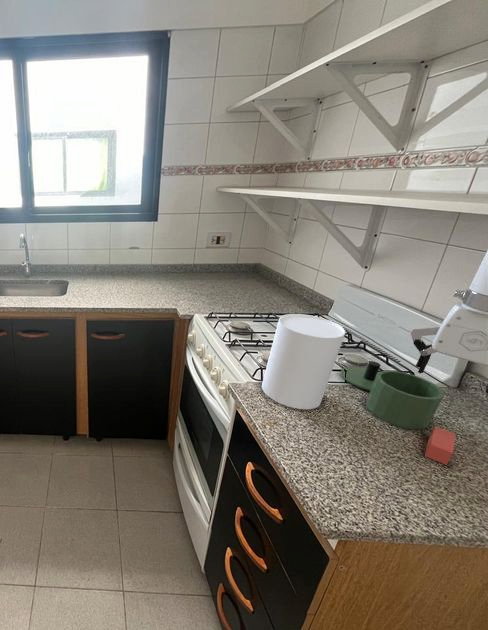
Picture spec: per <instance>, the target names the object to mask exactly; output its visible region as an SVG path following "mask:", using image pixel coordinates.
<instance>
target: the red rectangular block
mask: <svg viewBox="0 0 488 630" xmlns="http://www.w3.org/2000/svg"><path fill="white" fill-rule="evenodd" d="M456 435H457V434H456V433H455V432H453V431H449V430H447V429H444V428H441V427H439V426H436V425H434V427H433V429H432V430H431V433H430V434H429V436H428V440H427V443H426V447H425V448H426V449H425V453H424V457H427V458H428V459H432V460H433V461H435V462H439V463H440V464H443V465H446V466H447V465H448V463H449V461H450V459H451V458H452V456H453V454H454V450H455V443H456Z"/></svg>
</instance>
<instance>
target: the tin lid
mask: <svg viewBox="0 0 488 630" xmlns="http://www.w3.org/2000/svg"><path fill="white" fill-rule="evenodd" d="M344 369H347V374H346V378H345V374H344ZM380 369H381V363H380V362H377V361H373V360H371V361H368V363H367V367H362V366H345V367H343V368H342V369H341V371H340V375H341V377H342V378H343V379H344V380H345V381H347V383H349V384H351V385H353V386H356V387H357V388H360V389H363V390H366V391H369V392H370V391H371V388H372V386H373V384H374V381H375V379H376V376H377V374H378V373H379V372H380Z"/></svg>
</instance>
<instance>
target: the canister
mask: <svg viewBox="0 0 488 630" xmlns="http://www.w3.org/2000/svg"><path fill="white" fill-rule="evenodd" d="M345 336H346V330H345V329H344V327H342V326H341V325H340V324H338V323H336V322H334V321H333V320H332V321H331V320H330V319H327V318H323V317H320V316H316V315H310V314H303V313H289V314H288V313H287V314H283V315H281V316H279V318H278V321H277V325H276V329H275V333H274V336H273V341H272V344H271V348H270V352H269V356H268V360H267V364H266V366H265V367H266V368H265V372H264V375H263V378H262V383H261V390H262V391H263V393H264V394H265V395H266V396H267V397H268V398H269V399H272V400H273V401H274V402H276V403H278V404H281V405H283V406H286V407H289V408H293V409H298V410H313V409H317V408H318V407H320V405H321V404H322V400H323V397H324V395H325V392H326V389H327V386H328V384H329V380H330V378H331V375H332V373H333V369H334V368H335V363H336V361H337V358H338V355H339V352H340V350H341V347H342V344H343V341H344V338H345Z"/></svg>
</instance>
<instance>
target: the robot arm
mask: <svg viewBox="0 0 488 630" xmlns="http://www.w3.org/2000/svg"><path fill="white" fill-rule="evenodd" d="M453 298H458V299H460V301H457V302H456V303H455V304H454V305H453V307H452V308H451V309H450V311H448V314H447V315H446V317H445V318H444V319H443V321H442V323H441V324H440V326H438V327H437V326H436V327H426V328H414V329H412V330H411V332H410V336H411V339H412V342H413V345H414V347H415V348H416V349H417V350H418V352H419V357H418V360H417V362H416V364H415V367H416V368H418V371H417V373H418V374H424V371H425V369H426V367H427V366H428V363H429V361H430V359H431V356H432V354H435V353H440V354H442V355H446V356H448V357H453V358H457V359H461V360H465V361H468V362H471V363H476V364H479V365H482V366H486V367H488V249H487V251H486V253H485V255H484V257H483V259H482V261H481V263H480V264H479V266H478V269H477V271H476V273H475V275H474V277H473V279H472V281H471V283H470V285H469V287H468V289H465V290H458V289H456V290H455V292H454V294H453ZM426 336H434V338H433V340H432V342H431V343H429V344H426V343H425V342H424V340H423V339H422V337H426ZM485 393H486V394H487V395H488V383H487V384H486V386H485Z"/></svg>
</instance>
